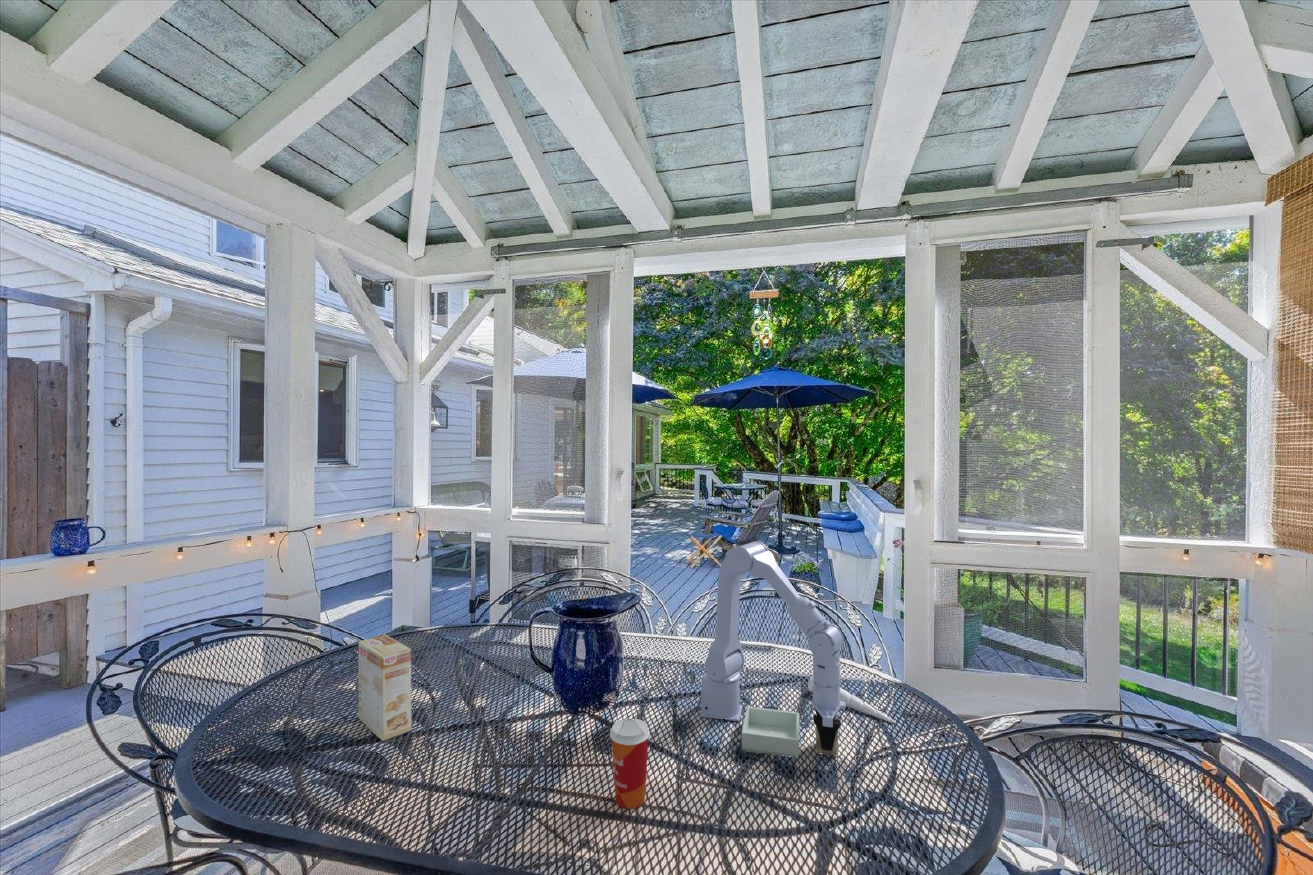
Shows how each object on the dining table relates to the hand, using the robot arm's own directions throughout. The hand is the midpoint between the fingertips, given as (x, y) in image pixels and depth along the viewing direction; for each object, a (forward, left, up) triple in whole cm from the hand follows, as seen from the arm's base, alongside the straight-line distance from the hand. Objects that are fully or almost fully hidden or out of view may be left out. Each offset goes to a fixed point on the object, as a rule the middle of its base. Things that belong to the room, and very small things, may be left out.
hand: (826, 743), depth 124 cm
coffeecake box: (-103, -15, -2) cm, 104 cm away
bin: (-12, +1, -1) cm, 12 cm away
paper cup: (-37, -27, -2) cm, 46 cm away
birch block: (0, 0, -1) cm, 1 cm away
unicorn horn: (+6, +23, -2) cm, 24 cm away
